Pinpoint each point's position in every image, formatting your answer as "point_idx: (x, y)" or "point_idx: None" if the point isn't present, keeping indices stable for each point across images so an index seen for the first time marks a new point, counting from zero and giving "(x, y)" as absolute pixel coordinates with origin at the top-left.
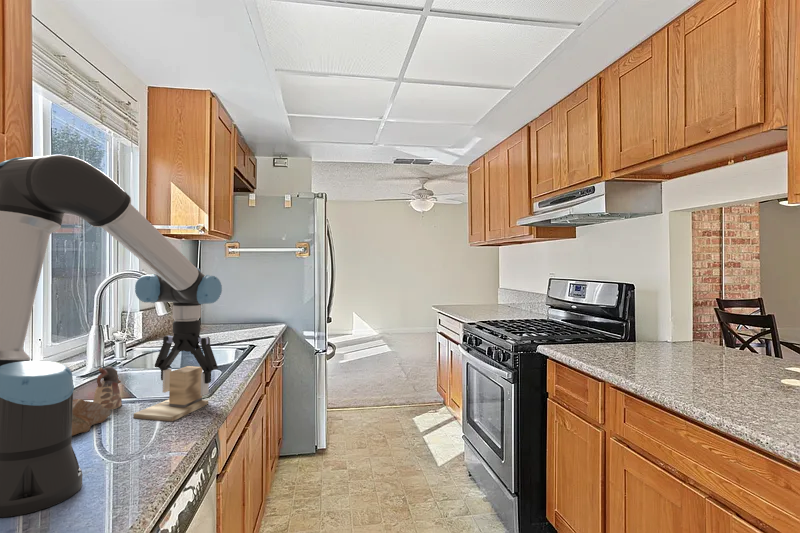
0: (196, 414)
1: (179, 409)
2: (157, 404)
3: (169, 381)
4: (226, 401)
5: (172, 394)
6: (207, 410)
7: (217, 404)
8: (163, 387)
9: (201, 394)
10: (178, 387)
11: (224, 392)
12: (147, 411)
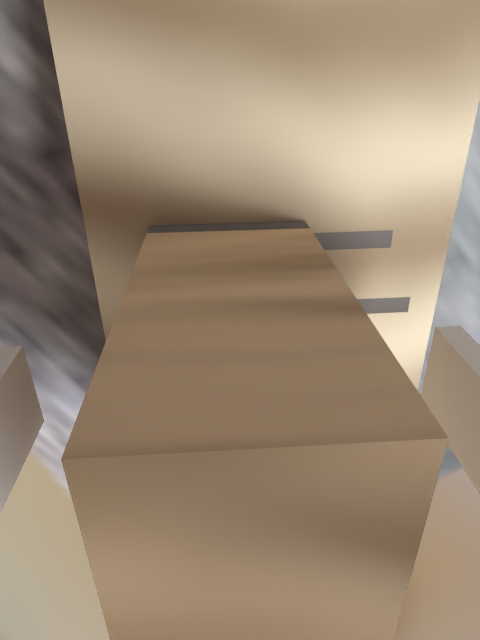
0: (9, 188)
1: (153, 168)
2: (437, 242)
3: (469, 446)
4: (59, 478)
5: (290, 260)
6: (14, 297)
7: (63, 420)
8: (477, 354)
9: (9, 352)
10: (219, 302)
11: None
12: (412, 24)
